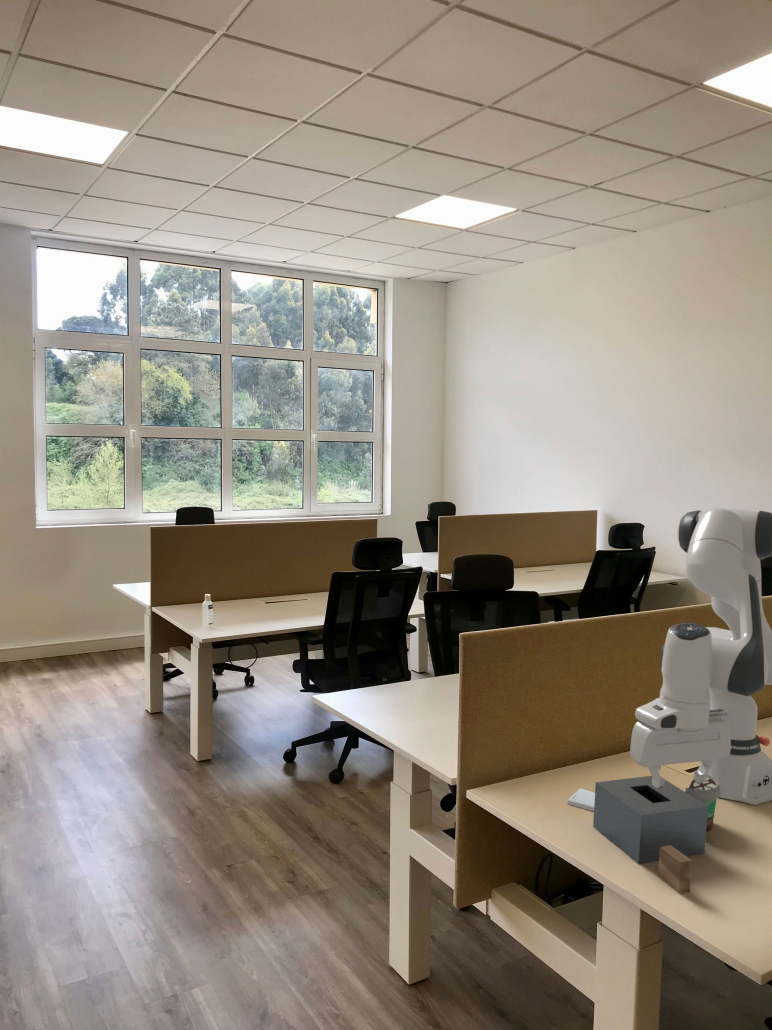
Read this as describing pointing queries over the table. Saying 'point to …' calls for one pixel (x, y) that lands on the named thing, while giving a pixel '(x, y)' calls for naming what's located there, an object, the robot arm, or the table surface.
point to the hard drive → (583, 799)
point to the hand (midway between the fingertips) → (679, 783)
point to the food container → (706, 796)
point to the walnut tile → (674, 869)
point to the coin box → (649, 818)
